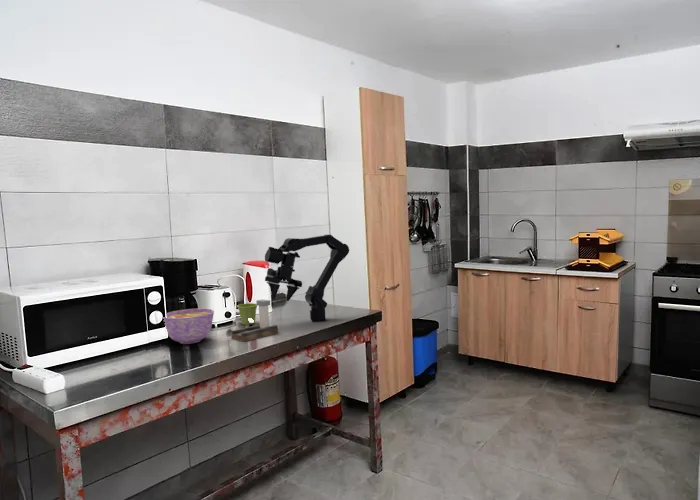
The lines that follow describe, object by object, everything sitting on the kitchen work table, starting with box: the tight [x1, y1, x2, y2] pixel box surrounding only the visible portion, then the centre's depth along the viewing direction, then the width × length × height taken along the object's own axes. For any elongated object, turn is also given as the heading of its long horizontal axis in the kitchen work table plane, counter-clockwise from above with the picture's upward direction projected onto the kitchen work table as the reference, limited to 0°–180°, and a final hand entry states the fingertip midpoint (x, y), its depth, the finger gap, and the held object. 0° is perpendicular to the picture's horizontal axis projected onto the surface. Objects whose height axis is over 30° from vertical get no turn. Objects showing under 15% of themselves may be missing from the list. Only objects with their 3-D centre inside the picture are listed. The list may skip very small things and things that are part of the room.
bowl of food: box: [162, 308, 215, 345], centre depth 205 cm, size 20×20×12 cm
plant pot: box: [236, 302, 258, 326], centre depth 235 cm, size 9×9×9 cm
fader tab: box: [255, 299, 271, 328], centre depth 213 cm, size 3×5×12 cm, turn 46°
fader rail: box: [230, 324, 279, 342], centre depth 209 cm, size 17×9×3 cm, turn 136°
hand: (280, 300), depth 225 cm, fingers open, 9 cm apart
